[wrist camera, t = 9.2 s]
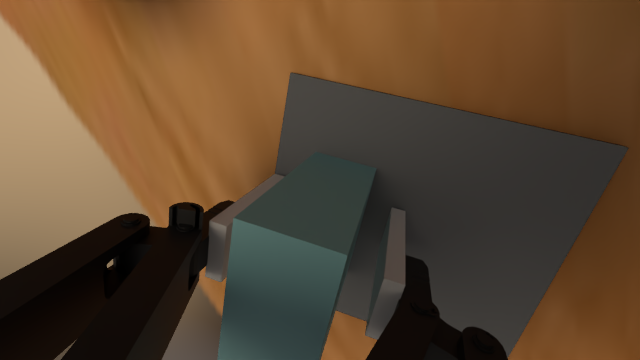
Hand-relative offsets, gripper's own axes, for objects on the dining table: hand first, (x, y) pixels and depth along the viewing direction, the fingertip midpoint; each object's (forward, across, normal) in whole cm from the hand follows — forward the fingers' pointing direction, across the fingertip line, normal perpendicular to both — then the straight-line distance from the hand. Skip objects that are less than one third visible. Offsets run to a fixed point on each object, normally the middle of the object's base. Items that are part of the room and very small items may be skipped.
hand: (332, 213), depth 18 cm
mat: (+1, +4, 0) cm, 4 cm away
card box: (0, 0, 0) cm, 1 cm away
